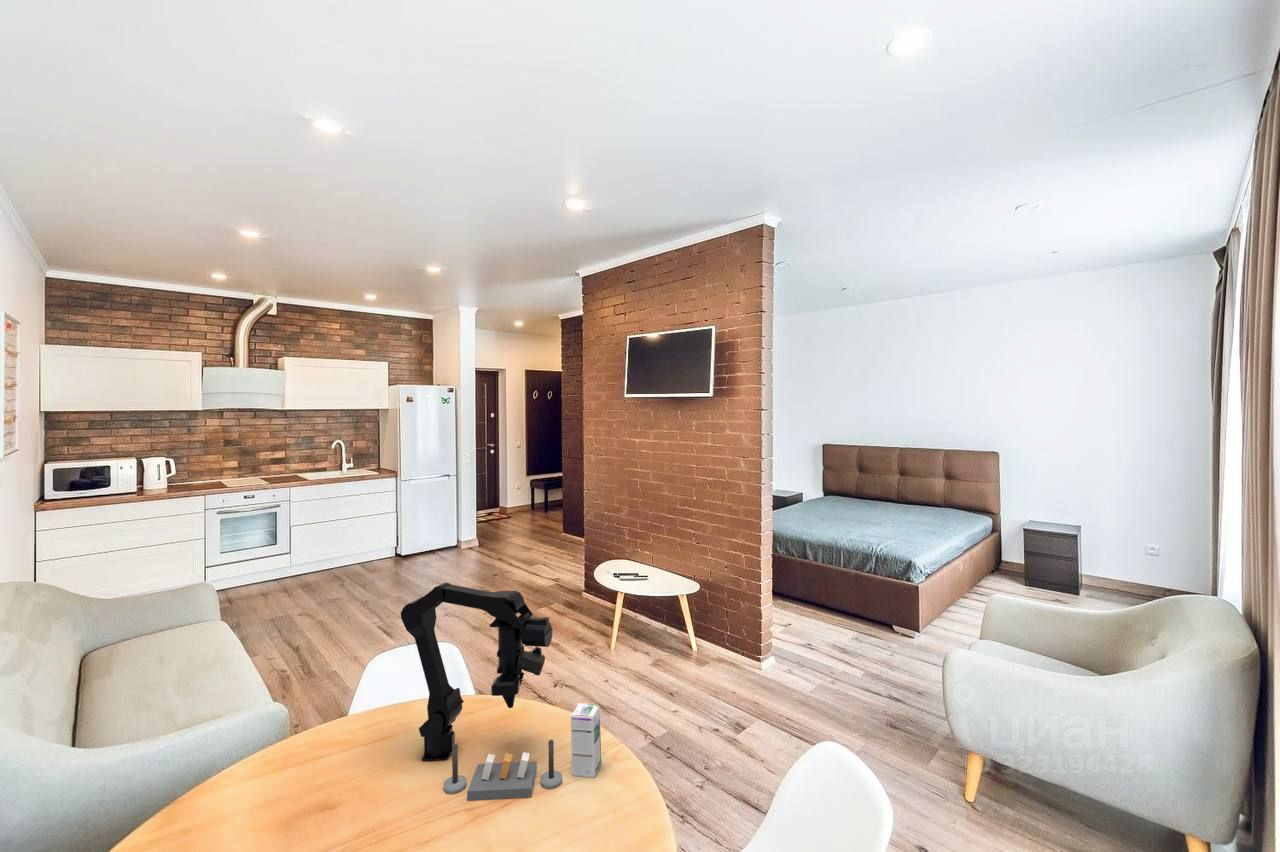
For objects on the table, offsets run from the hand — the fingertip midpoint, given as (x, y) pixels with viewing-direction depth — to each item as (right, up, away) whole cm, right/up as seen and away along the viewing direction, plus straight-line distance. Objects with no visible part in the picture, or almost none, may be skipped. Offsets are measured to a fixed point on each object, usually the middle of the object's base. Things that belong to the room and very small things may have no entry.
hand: (510, 707), depth 135 cm
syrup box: (+19, -13, -5) cm, 24 cm away
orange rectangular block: (+1, -11, -10) cm, 15 cm away
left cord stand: (-10, -13, -10) cm, 20 cm away
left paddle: (-3, -11, -10) cm, 15 cm away
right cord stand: (+12, -13, -9) cm, 20 cm away
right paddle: (+5, -11, -9) cm, 15 cm away
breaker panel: (+1, -13, -10) cm, 16 cm away
